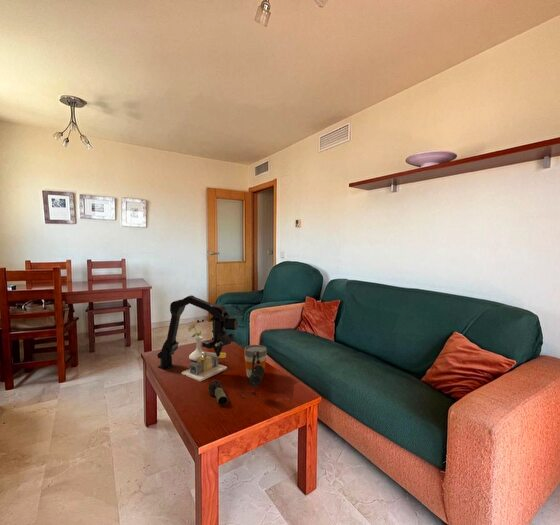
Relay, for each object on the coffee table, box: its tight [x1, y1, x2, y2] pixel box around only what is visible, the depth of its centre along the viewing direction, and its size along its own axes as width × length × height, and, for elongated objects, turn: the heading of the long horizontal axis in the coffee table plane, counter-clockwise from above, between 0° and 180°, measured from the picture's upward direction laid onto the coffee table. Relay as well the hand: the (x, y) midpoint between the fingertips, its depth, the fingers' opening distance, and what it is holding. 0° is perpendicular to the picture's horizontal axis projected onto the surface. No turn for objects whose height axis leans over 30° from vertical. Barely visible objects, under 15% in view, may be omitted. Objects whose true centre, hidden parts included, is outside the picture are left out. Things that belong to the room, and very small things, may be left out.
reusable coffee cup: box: [243, 344, 268, 378], centre depth 162 cm, size 13×13×15 cm
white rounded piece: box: [187, 319, 209, 362], centre depth 181 cm, size 13×11×25 cm
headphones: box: [239, 351, 265, 399], centre depth 143 cm, size 15×11×20 cm
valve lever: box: [202, 350, 227, 359], centre depth 164 cm, size 14×3×3 cm, turn 82°
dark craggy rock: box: [208, 379, 229, 406], centre depth 138 cm, size 18×7×6 cm, turn 23°
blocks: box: [189, 355, 219, 376], centre depth 165 cm, size 6×16×7 cm, turn 147°
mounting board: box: [181, 363, 228, 383], centre depth 165 cm, size 15×20×1 cm
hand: (217, 356), depth 161 cm, fingers closed
